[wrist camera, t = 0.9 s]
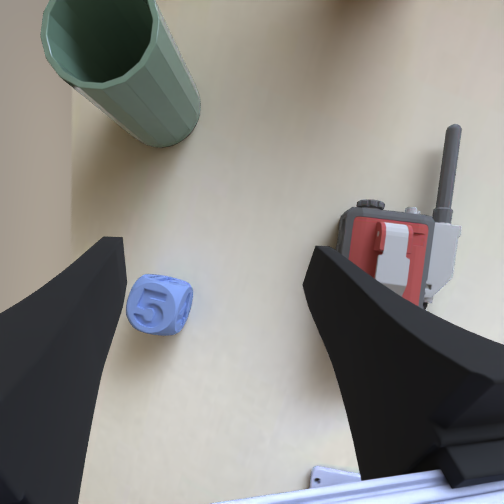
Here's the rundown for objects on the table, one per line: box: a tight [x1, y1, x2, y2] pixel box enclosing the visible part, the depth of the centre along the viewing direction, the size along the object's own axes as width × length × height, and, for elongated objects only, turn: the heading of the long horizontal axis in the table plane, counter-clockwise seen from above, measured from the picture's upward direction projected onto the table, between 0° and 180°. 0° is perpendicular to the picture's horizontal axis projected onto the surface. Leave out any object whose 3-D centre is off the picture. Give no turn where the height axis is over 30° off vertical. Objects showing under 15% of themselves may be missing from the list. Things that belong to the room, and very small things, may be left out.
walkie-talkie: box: [336, 124, 462, 310], centre depth 23 cm, size 9×4×20 cm
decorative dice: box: [126, 274, 193, 336], centre depth 25 cm, size 4×4×4 cm
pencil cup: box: [41, 0, 201, 147], centre depth 22 cm, size 7×7×10 cm
